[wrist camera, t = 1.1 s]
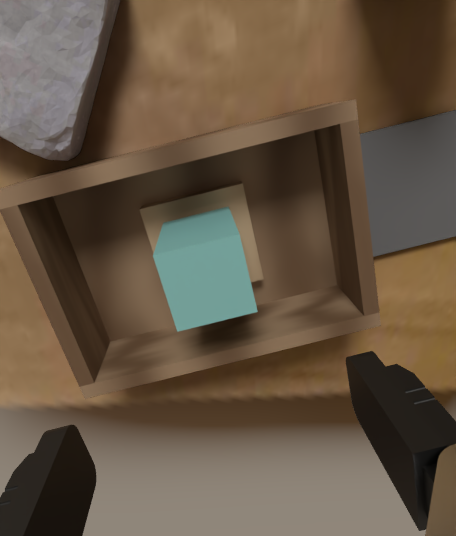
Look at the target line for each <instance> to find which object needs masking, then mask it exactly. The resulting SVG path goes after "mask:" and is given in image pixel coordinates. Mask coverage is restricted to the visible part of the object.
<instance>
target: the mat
mask: <svg viewBox="0 0 456 536" xmlns="http://www.w3.org/2000/svg"><path fill="white" fill-rule="evenodd" d="M360 141H361V150H362V159H363V168H364V177H365V187H366V196H367V205H368V214H369V223H370V232H371V241H372V250H373V257H374V256H378V255H382V254H386V253H390V252H394V251H398V250H402V249H406V248H410V247H414V246H418V245H422V244H427V243H431V242H435V241H439V240H443V239H447V238H451V237H455V236H456V110H453V111H449V112H445V113H441V114H437V115H434V116H430V117H426V118H422V119H418V120H414V121H410V122H406V123H402V124H398V125H394V126H390V127H386V128H382V129H378V130H374V131H370V132H366V133H362V134H360Z"/></svg>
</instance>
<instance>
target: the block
mask: <svg viewBox="0 0 456 536" xmlns="http://www.w3.org/2000/svg"><path fill="white" fill-rule="evenodd" d="M153 258H154V261H155V264H156V267H157V270H158V273H159V276H160V279H161V283H162V286H163V289H164V292H165V295H166V298H167V301H168V304H169V307H170V310H171V314H172V317H173V320H174V323H175V326H176V329H177V332H179V331H183V330H187V329H191V328H195V327H199V326H203V325H207V324H211V323H215V322H219V321H223V320H227V319H231V318H235V317H239V316H243V315H247V314H251V313H255V312H258V311H257V306H256V302H255V298H254V294H253V289H252V285H251V281H250V277H249V272H248V268H247V264H246V259H245V255H244V251H243V247H242V242H241V238H240V234H239V231H238V229H237V226H236V224H235V221H234V219H233V216H232V214H231V211H230V209H229V206H228V207H224V208H220V209H216V210H212V211H208V212H204V213H200V214H196V215H192V216H188V217H184V218H180V219H176V220H172V221H168V222H164V223H163V225H162V228H161V232H160V235H159V238H158V241H157V244H156V247H155V251H154V254H153Z"/></svg>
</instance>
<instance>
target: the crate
mask: <svg viewBox="0 0 456 536" xmlns="http://www.w3.org/2000/svg"><path fill="white" fill-rule="evenodd" d="M228 206H229V209H230V211H231V214H232V216H233V219H234V221H235V224H236V226H237V229H238V231H239V234H240V238H241V242H242V247H243V251H244V255H245V259H246V264H247V268H248V272H249V277H250V281H251V285H252V289H253V294H254V298H255V302H256V306H257V311H258V312H255V313H251V314H247V315H243V316H239V317H235V318H231V319H227V320H223V321H219V322H215V323H211V324H207V325H203V326H199V327H195V328H191V329H187V330H183V331H179V332H177V329H176V326H175V323H174V320H173V317H172V314H171V310H170V307H169V304H168V301H167V298H166V295H165V292H164V289H163V286H162V283H161V279H160V276H159V273H158V270H157V267H156V264H155V261H154V258H153V254H154V251H155V247H156V244H157V241H158V238H159V235H160V232H161V228H162V225H163V223H164V222H168V221H172V220H176V219H180V218H184V217H188V216H192V215H196V214H200V213H204V212H208V211H212V210H216V209H220V208H224V207H228ZM0 212H1V214H2V216H3V218H4V221H5V223H6V225H7V227H8V229H9V232H10V234H11V236H12V238H13V240H14V243H15V245H16V247H17V249H18V252H19V254H20V256H21V258H22V260H23V263H24V265H25V267H26V269H27V272H28V274H29V276H30V278H31V280H32V283H33V285H34V287H35V289H36V292H37V294H38V296H39V298H40V300H41V303H42V305H43V307H44V309H45V311H46V314H47V316H48V318H49V320H50V323H51V325H52V327H53V329H54V331H55V334H56V336H57V338H58V340H59V343H60V345H61V347H62V349H63V351H64V354H65V356H66V358H67V360H68V362H69V365H70V367H71V369H72V371H73V374H74V376H75V378H76V380H77V382H78V385H79V387H80V389H81V391H82V394H83V396H84V398H85V399H87V398H91V397H95V396H99V395H103V394H107V393H111V392H115V391H119V390H123V389H127V388H131V387H135V386H140V385H144V384H148V383H152V382H156V381H160V380H164V379H168V378H172V377H176V376H180V375H184V374H188V373H192V372H196V371H200V370H204V369H208V368H212V367H216V366H220V365H224V364H228V363H232V362H236V361H241V360H245V359H249V358H253V357H257V356H261V355H265V354H269V353H273V352H277V351H281V350H285V349H289V348H293V347H297V346H301V345H305V344H309V343H313V342H317V341H321V340H325V339H329V338H333V337H337V336H341V335H346V334H350V333H354V332H358V331H362V330H366V329H370V328H374V327H378V326H381V324H380V314H379V305H378V296H377V287H376V278H375V269H374V260H373V250H372V241H371V232H370V223H369V214H368V205H367V196H366V187H365V177H364V168H363V159H362V150H361V141H360V132H359V123H358V113H357V104H356V100H349V101H342V102H335V103H328V104H321V105H317V106H313V107H309V108H305V109H301V110H297V111H293V112H289V113H286V114H282V115H278V116H274V117H270V118H266V119H262V120H258V121H254V122H250V123H246V124H242V125H238V126H234V127H230V128H226V129H222V130H218V131H214V132H210V133H206V134H202V135H198V136H194V137H191V138H187V139H183V140H179V141H175V142H171V143H167V144H163V145H159V146H155V147H151V148H147V149H143V150H139V151H135V152H131V153H127V154H123V155H119V156H115V157H111V158H107V159H103V160H99V161H96V162H92V163H88V164H84V165H80V166H76V167H72V168H68V169H64V170H60V171H56V172H52V173H48V174H44V175H40V176H36V177H33V178H30V179H27V180H24V181H21V182H18V183H15V184H12V185H9V186H6V187H3V188H1V189H0Z"/></svg>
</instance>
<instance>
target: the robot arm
mask: <svg viewBox="0 0 456 536" xmlns="http://www.w3.org/2000/svg"><path fill="white" fill-rule="evenodd" d="M346 366H347V373H348V379H349V386H350V393H351V399H352V404H353V408H354V411H355V414H356V416H357V419H358V421H359V423H360V425H361V426H362V428H363V430H364V432H365V434H366V435H367V437H368V439H369V441H370V443H371V445H372V446H373V448H374V450H375V452H376V454H377V455H378V457H379V459H380V461H381V463H382V464H383V466H384V468H385V470H386V471H387V473H388V475H389V477H390V479H391V481H392V483H393V484H394V486H395V488H396V490H397V492H398V493H399V495H400V497H401V499H402V501H403V502H404V504H405V506H406V508H407V510H408V512H409V513H410V515H411V517H412V519H413V520H414V522H415V524H416V526H417V528H418V530H419V531H421V530H425V529H426V534H425V536H456V421H455V420H454V419H453V418H452V416H451V415H450V414H449V413H448V412H447V411H446V410H445V408H444V407H443V406H442V405H441V404H440V403H439V402H438V401H437V400H435V398H434V396H433V395H432V394H431V393H430V391H429V390H428V389H426V388H425V386H424V385H423V383H422V382H421V381H420V380H419V379H418V378H417V377H416V375H415V374H414V373H412V372H410V371H409V370H407V369H405V368H403V367H401V366H399V365H398V364H395V365H391V366H386V367H385V366H384V364H383V363H382V362H381V360H380V359H379V358H378V357H377V355H376V354H375V353H374V352H373V351H370V352H366V353H362V354H358V355H354V356H350V357H347V358H346ZM95 486H96V469H95V465H94V462H93V460H92V458H91V456H90V454H89V452H88V450H87V447H86V445H85V443H84V441H83V439H82V437H81V435H80V433H79V431H78V429H77V427H76V426H75V425H68V426H64V427H60V428H57V429H52V430H48V431H46V432H45V433H44V434H43V435H42V438H41V439H40V442H39V444H38V446H37V448H36V450H35V452H34V453H32V454H29V455H28V456H27V457H26V458H25V459H24V460H23V462H22V463H21V464H20V465H19V466H18V467H17V468H16V469H15V471H14V472H13V474H12V476H11V478H10V480H9V482H8V484H7V486H6V488H5V492H3V493H2V495H1V497H0V536H82V535H83V531H84V527H85V523H86V520H87V516H88V512H89V509H90V505H91V501H92V497H93V493H94V490H95Z"/></svg>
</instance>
